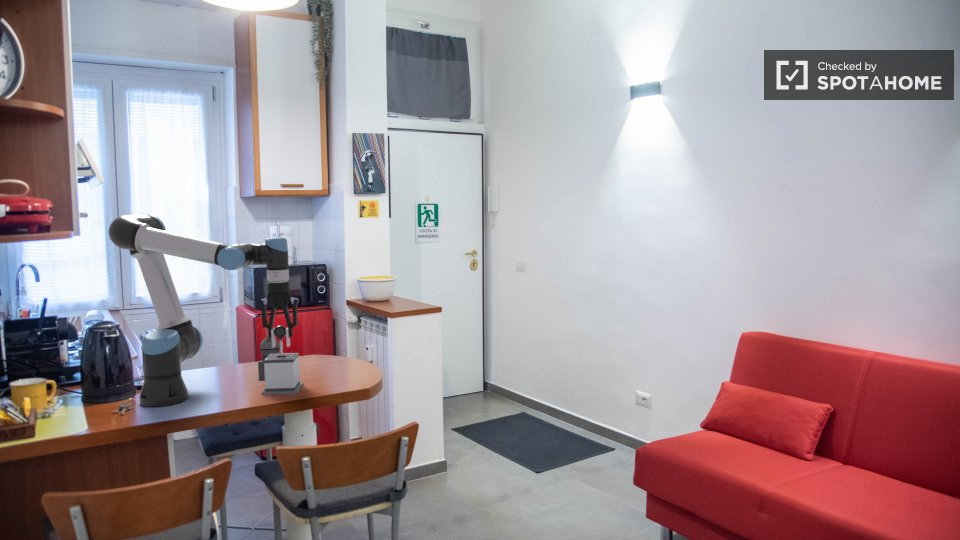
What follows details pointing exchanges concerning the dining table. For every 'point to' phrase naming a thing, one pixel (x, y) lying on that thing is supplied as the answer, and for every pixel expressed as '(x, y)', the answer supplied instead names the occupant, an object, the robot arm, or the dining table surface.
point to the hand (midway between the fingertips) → (281, 346)
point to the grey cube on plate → (280, 374)
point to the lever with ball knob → (280, 336)
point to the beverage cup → (268, 347)
